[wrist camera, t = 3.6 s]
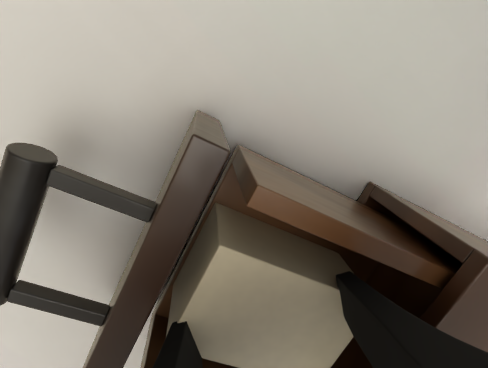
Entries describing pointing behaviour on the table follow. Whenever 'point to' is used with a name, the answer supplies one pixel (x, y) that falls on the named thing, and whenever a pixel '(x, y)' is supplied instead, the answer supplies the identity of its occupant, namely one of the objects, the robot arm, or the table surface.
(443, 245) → the cabinet
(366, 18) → the table surface
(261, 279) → the beige rectangular block
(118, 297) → the drawer
